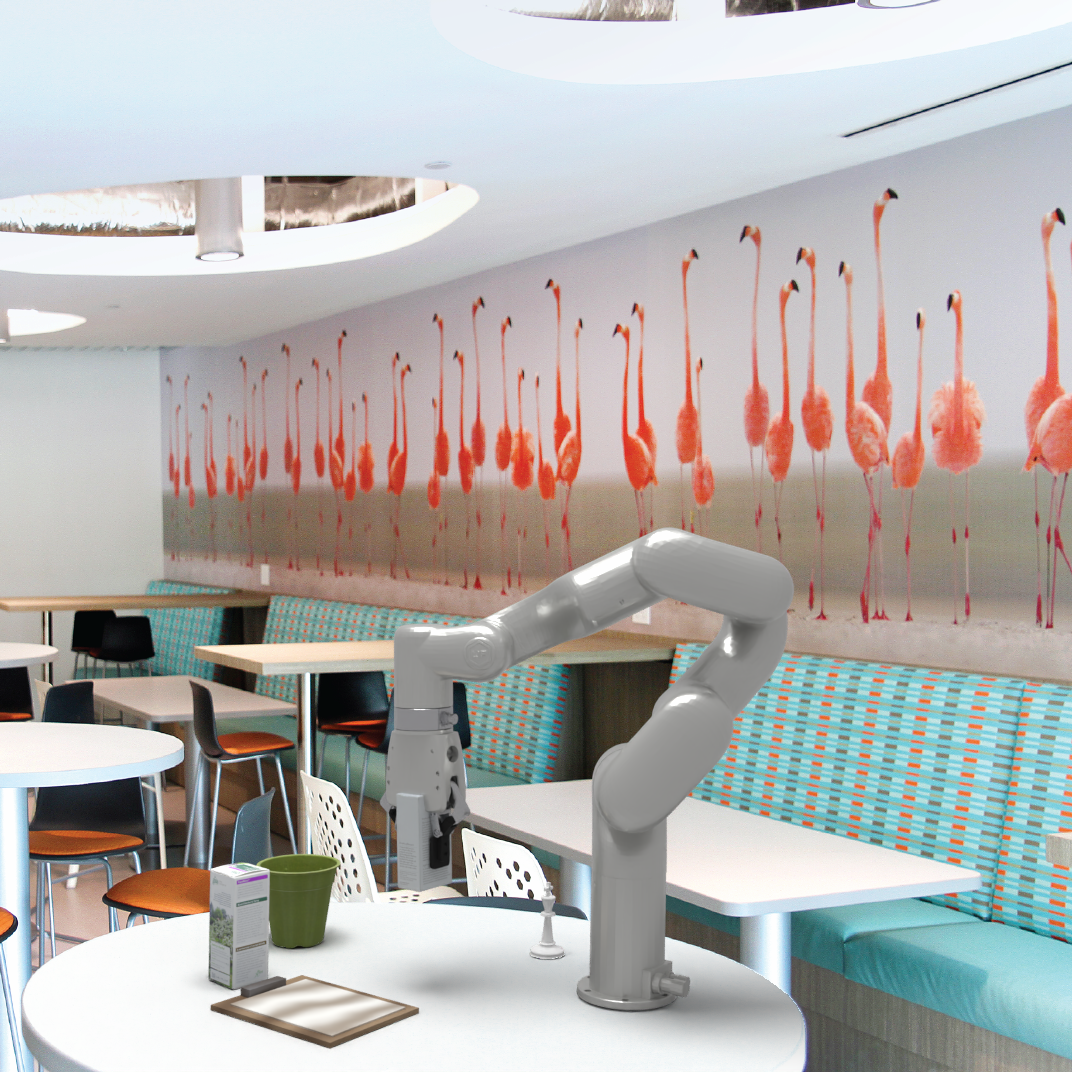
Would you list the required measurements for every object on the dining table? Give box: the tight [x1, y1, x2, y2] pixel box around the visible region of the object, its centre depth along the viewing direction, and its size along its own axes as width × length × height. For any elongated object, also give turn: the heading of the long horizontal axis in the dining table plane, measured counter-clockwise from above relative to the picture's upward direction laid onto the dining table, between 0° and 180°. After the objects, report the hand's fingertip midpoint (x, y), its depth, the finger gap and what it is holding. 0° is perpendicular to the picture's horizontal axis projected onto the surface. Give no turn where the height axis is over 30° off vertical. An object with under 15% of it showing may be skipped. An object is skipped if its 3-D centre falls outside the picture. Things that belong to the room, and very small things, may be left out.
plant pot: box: [255, 853, 341, 949], centre depth 185 cm, size 12×12×11 cm
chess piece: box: [529, 881, 566, 960], centre depth 182 cm, size 5×5×10 cm
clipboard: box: [210, 974, 420, 1049], centre depth 156 cm, size 20×15×2 cm
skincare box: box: [396, 793, 453, 893], centre depth 166 cm, size 6×4×12 cm
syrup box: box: [208, 862, 270, 990], centre depth 167 cm, size 6×6×14 cm
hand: (424, 862), depth 166 cm, fingers closed on skincare box, 4 cm apart
